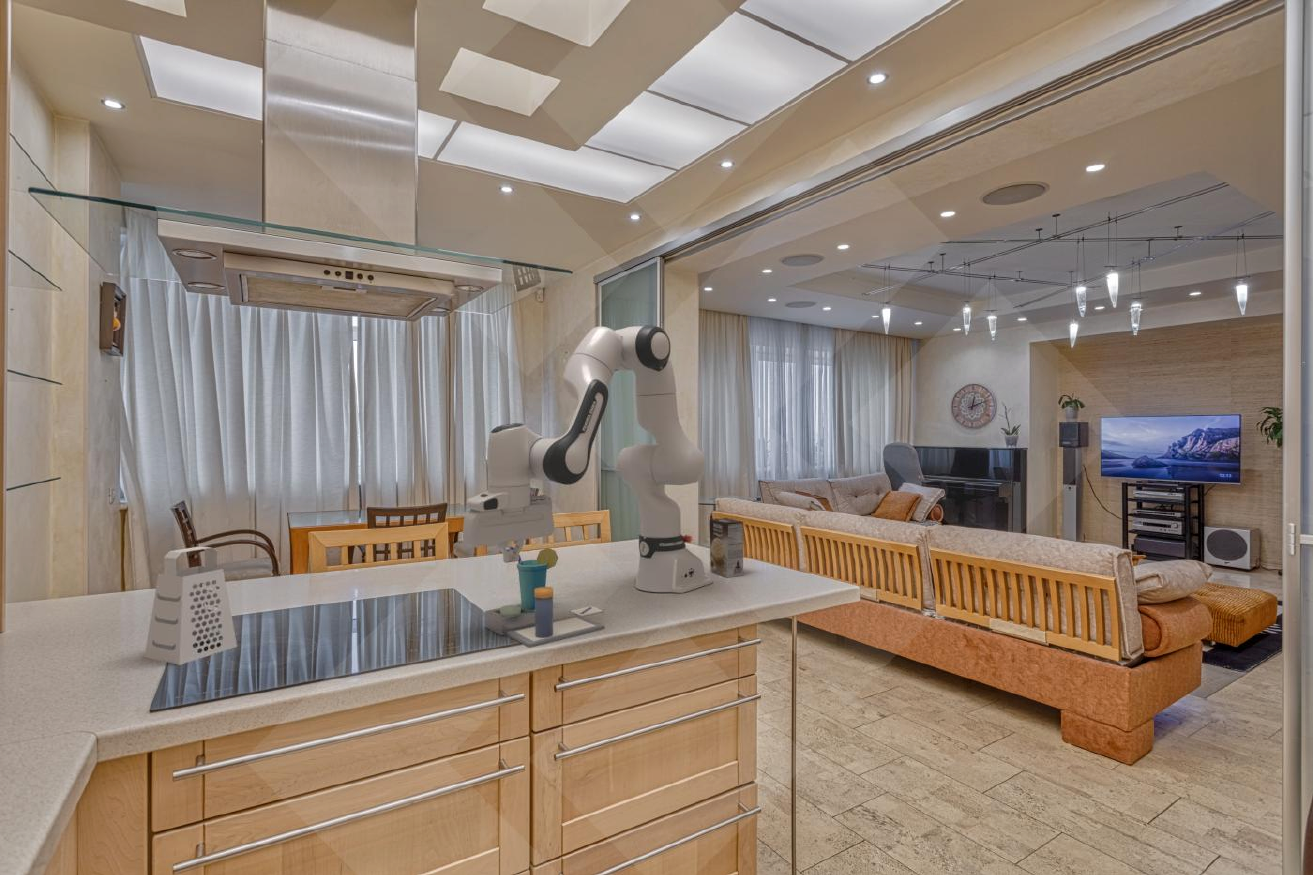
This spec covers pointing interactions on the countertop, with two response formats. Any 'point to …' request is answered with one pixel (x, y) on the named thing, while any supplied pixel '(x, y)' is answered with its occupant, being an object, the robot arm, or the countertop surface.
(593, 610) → the card
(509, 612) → the button
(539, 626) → the orange capped blue bottle
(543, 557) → the cup
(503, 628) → the button housing
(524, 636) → the board
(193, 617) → the grater
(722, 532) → the coffee box
